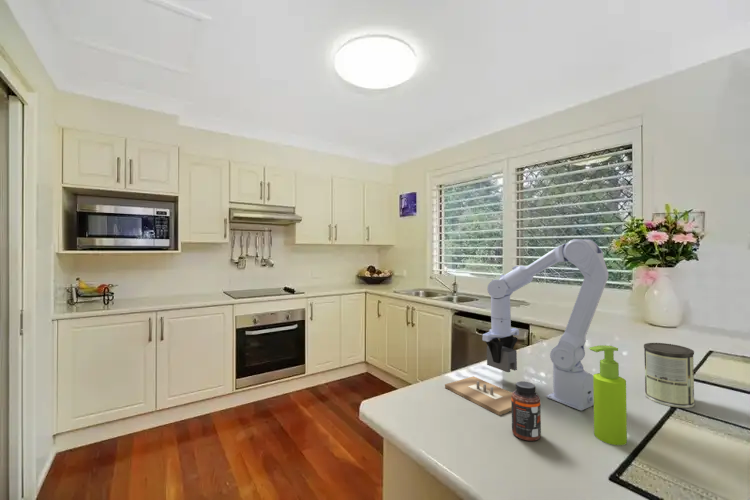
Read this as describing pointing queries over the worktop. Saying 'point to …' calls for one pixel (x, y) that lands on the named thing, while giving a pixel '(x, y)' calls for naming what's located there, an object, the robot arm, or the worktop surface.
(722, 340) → the worktop surface
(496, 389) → the pin board
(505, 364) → the block
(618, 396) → the soap dispenser
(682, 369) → the coffee can
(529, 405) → the supplement bottle
